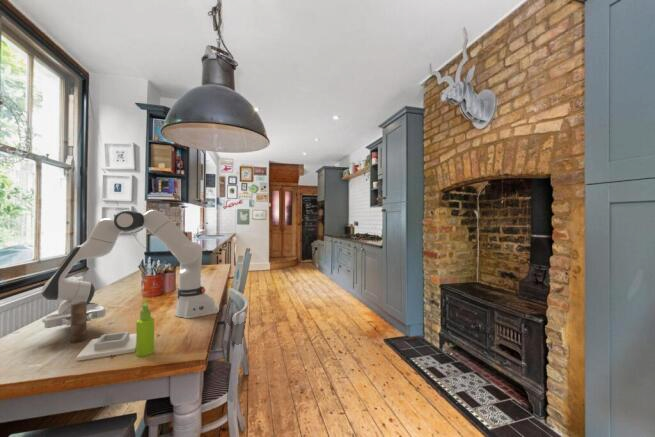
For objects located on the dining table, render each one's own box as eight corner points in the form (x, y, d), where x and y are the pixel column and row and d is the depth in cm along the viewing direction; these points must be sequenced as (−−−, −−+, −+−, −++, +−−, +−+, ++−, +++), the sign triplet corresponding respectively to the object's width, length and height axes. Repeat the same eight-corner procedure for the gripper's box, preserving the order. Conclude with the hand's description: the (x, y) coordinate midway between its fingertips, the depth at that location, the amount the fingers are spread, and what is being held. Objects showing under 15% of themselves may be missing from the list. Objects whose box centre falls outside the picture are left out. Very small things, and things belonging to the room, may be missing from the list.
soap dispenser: (134, 359, 106) (135, 306, 106) (137, 351, 112) (137, 301, 112) (153, 355, 109) (153, 304, 109) (154, 348, 115) (154, 299, 115)
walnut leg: (88, 337, 125) (88, 300, 124) (83, 341, 120) (84, 304, 120) (73, 339, 122) (73, 302, 122) (68, 343, 118) (68, 305, 118)
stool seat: (142, 335, 126) (142, 327, 126) (134, 351, 112) (134, 341, 112) (92, 342, 119) (92, 333, 119) (76, 360, 104) (76, 350, 104)
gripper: (41, 312, 122) (44, 320, 113) (101, 301, 137) (108, 308, 128) (41, 326, 122) (44, 336, 113) (101, 314, 137) (108, 321, 128)
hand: (79, 321), depth 121 cm, fingers closed on walnut leg, 5 cm apart
